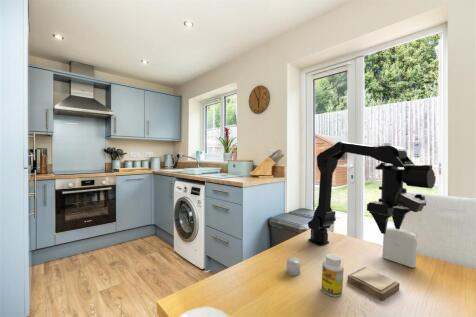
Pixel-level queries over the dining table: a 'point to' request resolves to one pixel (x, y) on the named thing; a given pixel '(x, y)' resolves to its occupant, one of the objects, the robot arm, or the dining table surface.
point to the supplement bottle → (332, 275)
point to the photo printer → (400, 246)
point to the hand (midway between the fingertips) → (390, 231)
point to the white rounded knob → (293, 266)
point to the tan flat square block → (373, 283)
